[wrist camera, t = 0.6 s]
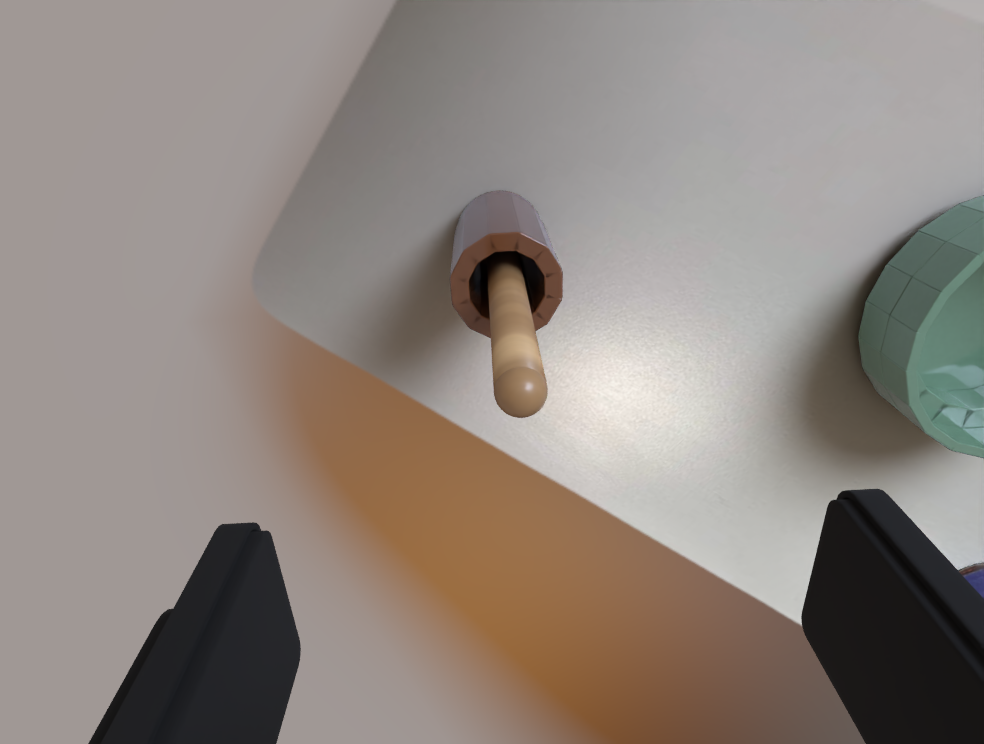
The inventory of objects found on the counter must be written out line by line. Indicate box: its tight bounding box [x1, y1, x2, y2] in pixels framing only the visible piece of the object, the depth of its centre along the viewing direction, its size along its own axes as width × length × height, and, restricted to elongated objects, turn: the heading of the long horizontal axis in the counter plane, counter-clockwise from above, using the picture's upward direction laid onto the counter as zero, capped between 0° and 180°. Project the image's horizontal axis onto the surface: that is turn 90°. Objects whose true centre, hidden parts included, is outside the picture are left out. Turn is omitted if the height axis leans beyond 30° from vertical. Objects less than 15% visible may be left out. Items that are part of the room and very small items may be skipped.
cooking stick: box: [486, 251, 548, 418], centre depth 26 cm, size 2×2×18 cm
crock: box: [450, 191, 563, 338], centre depth 31 cm, size 5×5×9 cm
